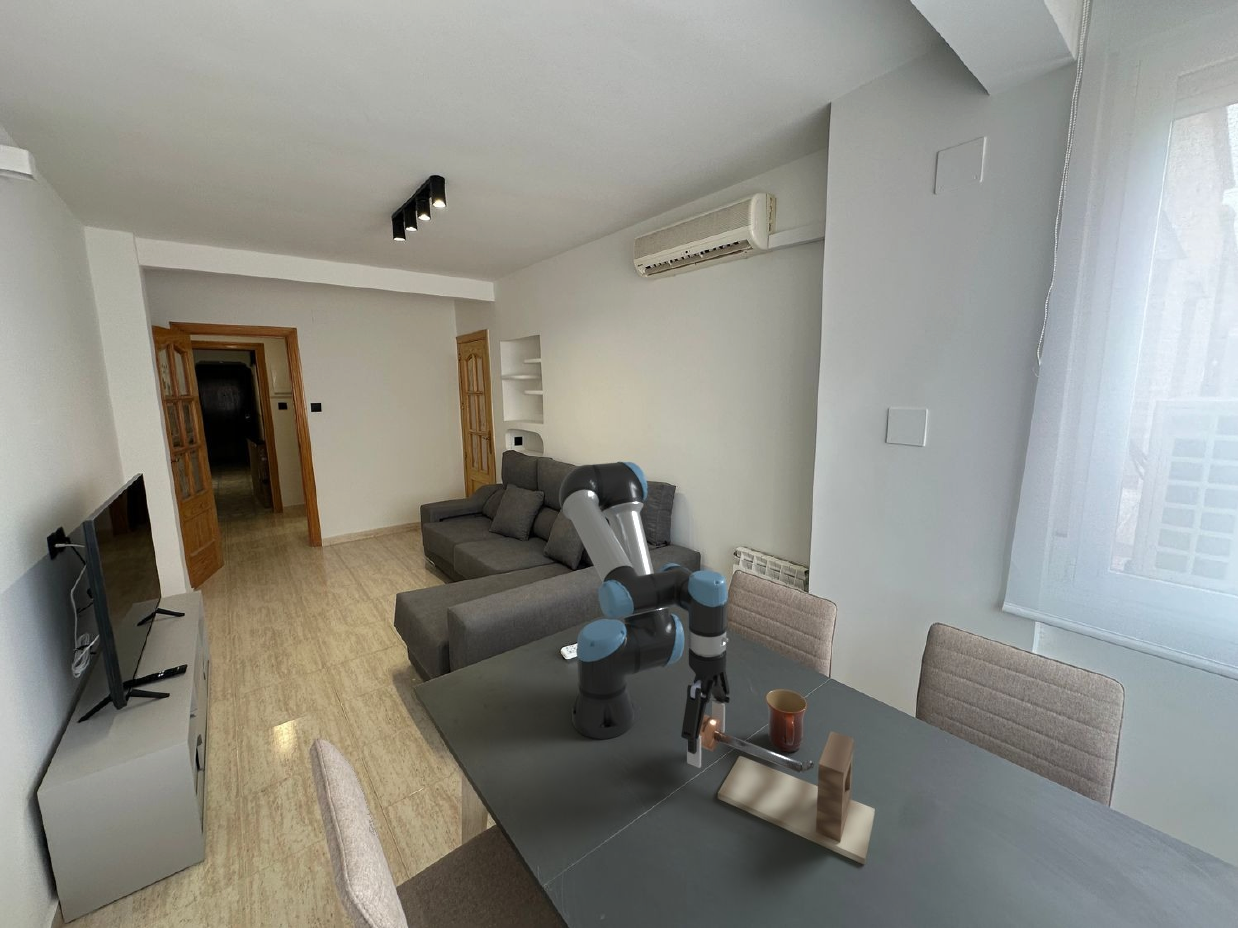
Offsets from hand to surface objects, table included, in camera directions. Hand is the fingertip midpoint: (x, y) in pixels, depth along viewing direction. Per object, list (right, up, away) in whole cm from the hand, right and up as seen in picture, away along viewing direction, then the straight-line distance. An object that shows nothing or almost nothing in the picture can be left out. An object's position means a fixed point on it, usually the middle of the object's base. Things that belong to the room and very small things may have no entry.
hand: (706, 746), depth 106 cm
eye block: (+21, -5, -13) cm, 25 cm away
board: (+15, -6, -9) cm, 19 cm away
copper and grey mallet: (+8, 0, -5) cm, 9 cm away
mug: (+19, -4, +7) cm, 20 cm away
